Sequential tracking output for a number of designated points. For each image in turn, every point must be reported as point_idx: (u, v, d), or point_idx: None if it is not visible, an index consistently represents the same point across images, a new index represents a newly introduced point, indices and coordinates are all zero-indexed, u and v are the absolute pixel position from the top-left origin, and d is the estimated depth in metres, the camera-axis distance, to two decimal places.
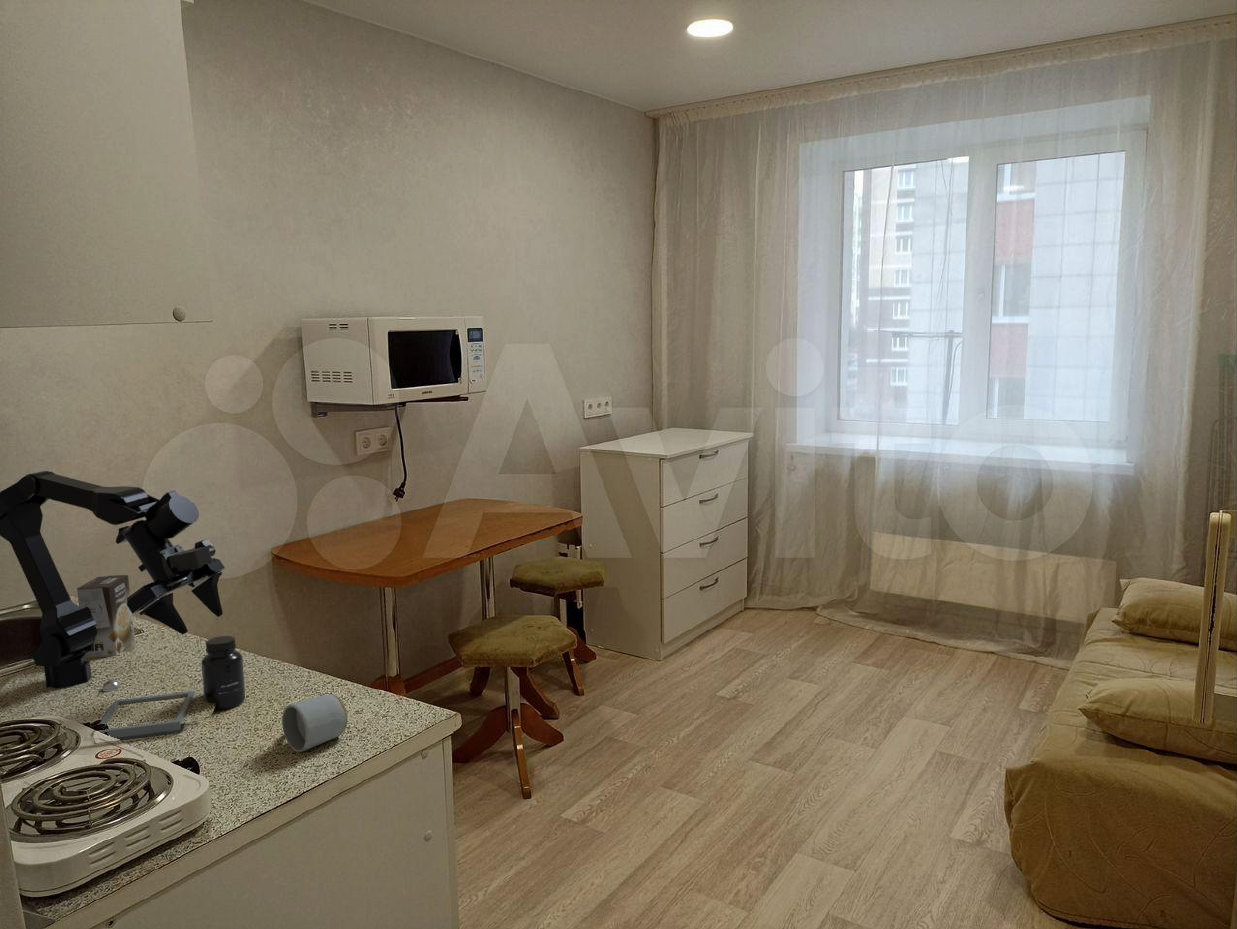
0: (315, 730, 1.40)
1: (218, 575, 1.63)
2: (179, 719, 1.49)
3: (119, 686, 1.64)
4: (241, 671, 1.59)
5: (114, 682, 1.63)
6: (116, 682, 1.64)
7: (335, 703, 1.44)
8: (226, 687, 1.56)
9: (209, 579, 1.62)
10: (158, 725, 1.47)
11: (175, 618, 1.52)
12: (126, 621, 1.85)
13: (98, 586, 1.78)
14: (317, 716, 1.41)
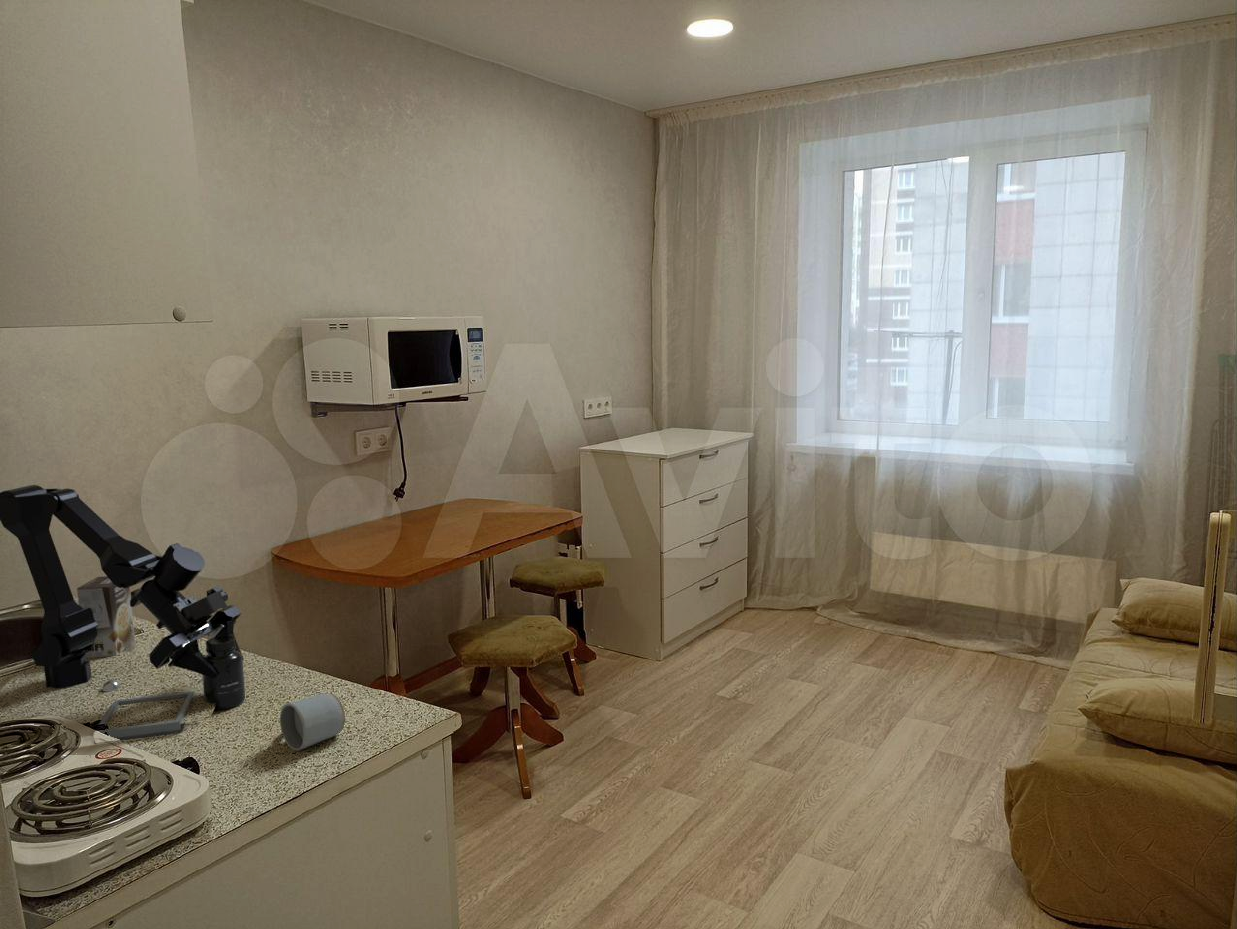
0: (312, 729, 1.40)
1: (232, 622, 1.64)
2: (179, 719, 1.49)
3: (119, 686, 1.64)
4: (241, 671, 1.59)
5: (114, 682, 1.63)
6: (116, 682, 1.64)
7: (332, 702, 1.44)
8: (226, 687, 1.56)
9: (224, 627, 1.62)
10: (158, 725, 1.47)
11: (204, 663, 1.54)
12: (126, 621, 1.85)
13: (98, 586, 1.78)
14: (315, 715, 1.41)
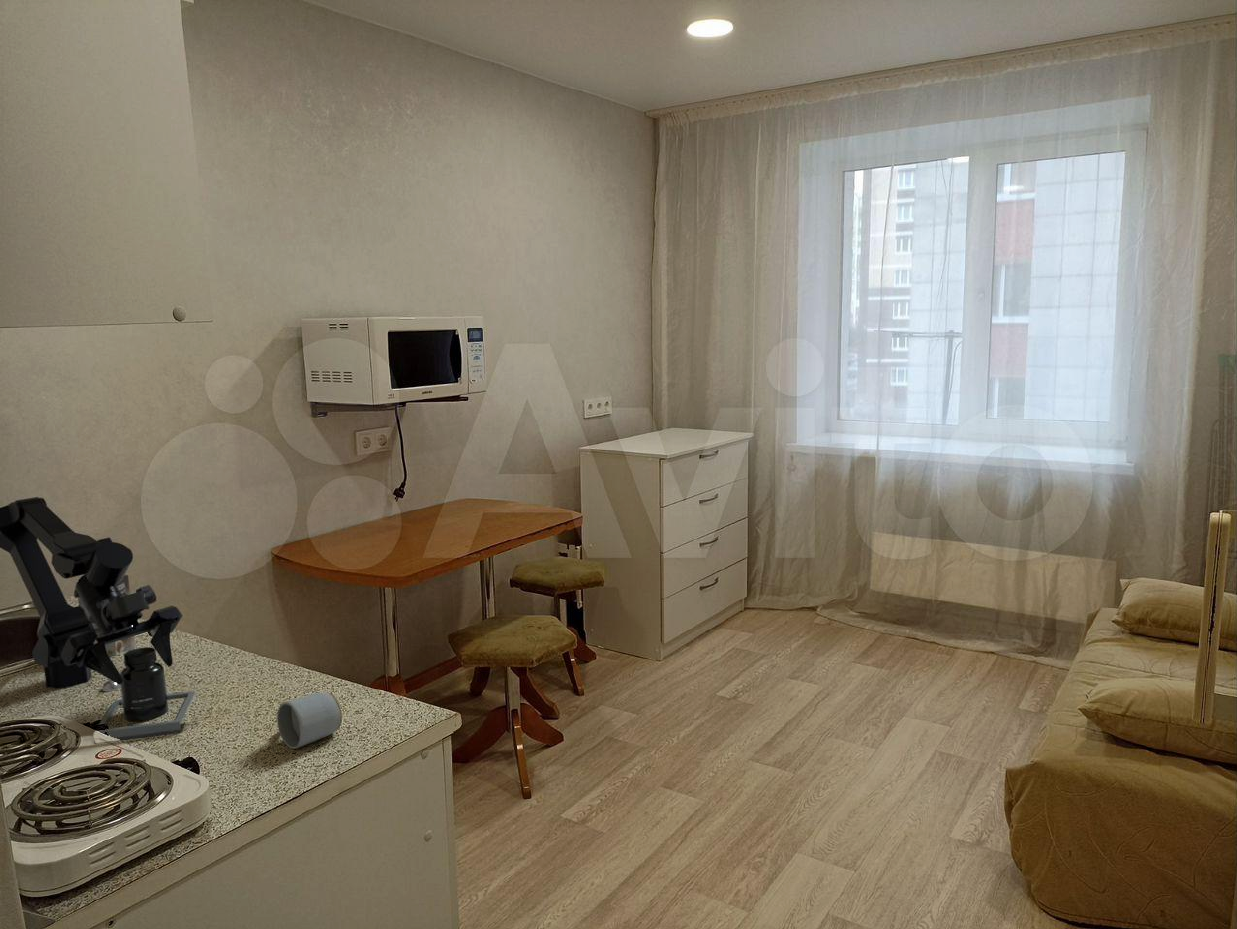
0: (309, 727, 1.41)
1: (169, 623, 1.57)
2: (179, 719, 1.49)
3: (119, 686, 1.64)
4: (157, 687, 1.51)
5: (114, 682, 1.63)
6: None
7: (329, 701, 1.45)
8: (138, 703, 1.49)
9: (159, 627, 1.56)
10: (158, 725, 1.47)
11: (108, 667, 1.47)
12: None
13: None
14: (312, 713, 1.42)
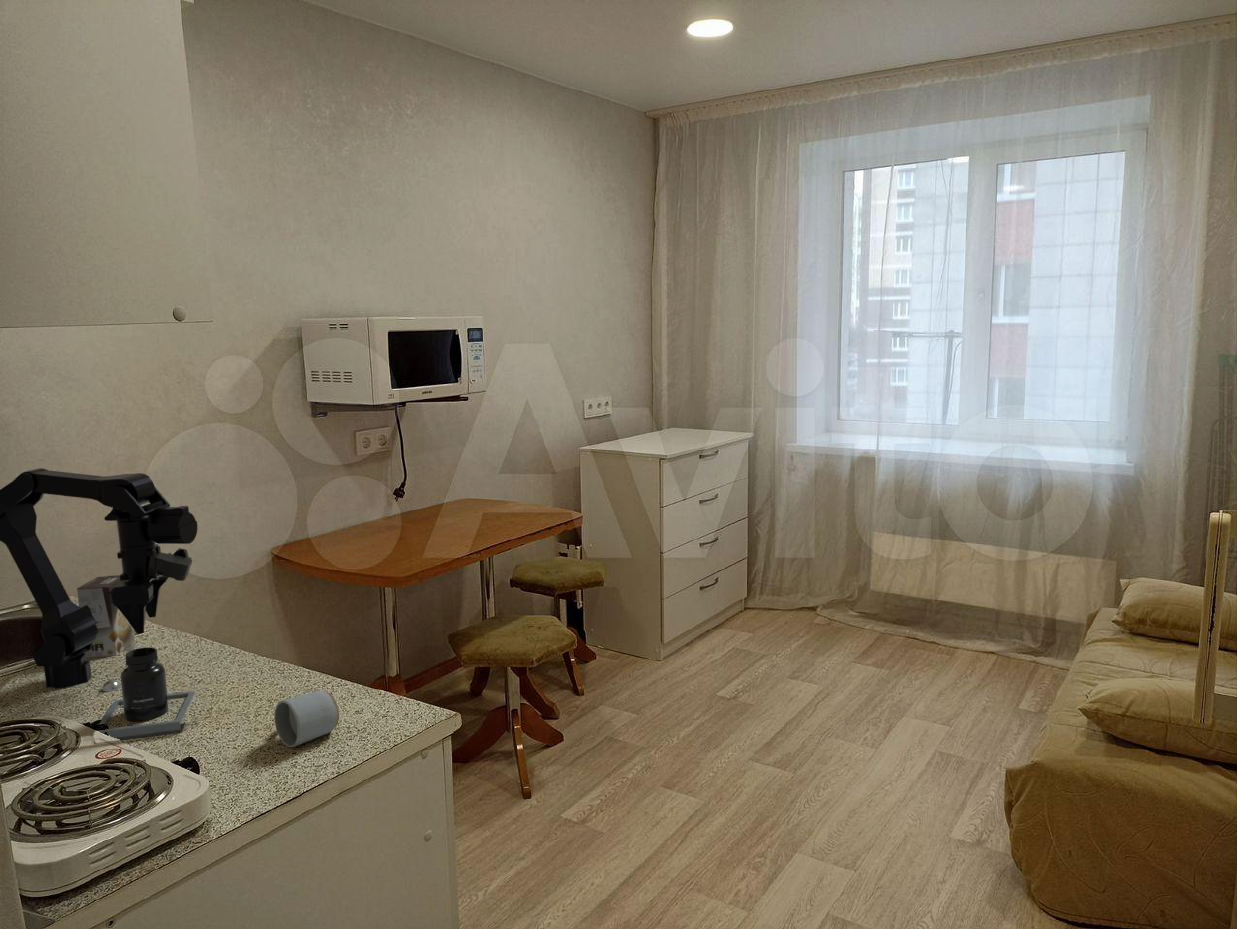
0: (306, 726, 1.41)
1: None
2: (179, 719, 1.49)
3: (119, 686, 1.64)
4: (158, 687, 1.51)
5: (114, 682, 1.63)
6: (116, 682, 1.64)
7: (326, 699, 1.45)
8: (138, 703, 1.49)
9: (160, 581, 1.68)
10: (158, 725, 1.47)
11: (142, 619, 1.58)
12: (126, 621, 1.85)
13: (98, 586, 1.78)
14: (309, 712, 1.42)
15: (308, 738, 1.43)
